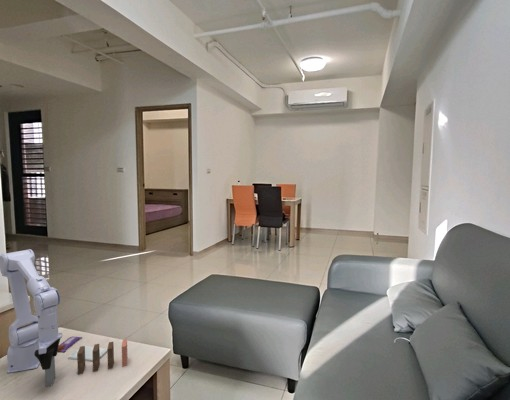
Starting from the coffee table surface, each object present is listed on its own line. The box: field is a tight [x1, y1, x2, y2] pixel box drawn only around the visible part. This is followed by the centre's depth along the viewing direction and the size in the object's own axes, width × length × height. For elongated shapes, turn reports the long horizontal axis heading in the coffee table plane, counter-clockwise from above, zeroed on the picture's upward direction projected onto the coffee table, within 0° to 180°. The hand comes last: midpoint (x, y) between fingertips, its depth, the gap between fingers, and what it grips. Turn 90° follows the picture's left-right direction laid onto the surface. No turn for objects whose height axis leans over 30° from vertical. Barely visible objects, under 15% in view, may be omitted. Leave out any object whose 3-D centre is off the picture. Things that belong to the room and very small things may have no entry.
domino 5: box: [121, 339, 128, 368], centre depth 120 cm, size 2×5×8 cm, turn 19°
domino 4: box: [106, 341, 115, 370], centre depth 118 cm, size 2×5×8 cm, turn 19°
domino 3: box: [92, 343, 101, 373], centre depth 116 cm, size 2×5×8 cm, turn 19°
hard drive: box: [67, 345, 107, 363], centre depth 125 cm, size 2×8×12 cm
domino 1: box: [44, 356, 56, 388], centre depth 108 cm, size 2×5×8 cm, turn 19°
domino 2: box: [76, 345, 86, 375], centre depth 115 cm, size 2×5×8 cm, turn 19°
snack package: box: [58, 336, 83, 353], centre depth 132 cm, size 12×2×5 cm
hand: (49, 362), depth 108 cm, fingers open, 7 cm apart
